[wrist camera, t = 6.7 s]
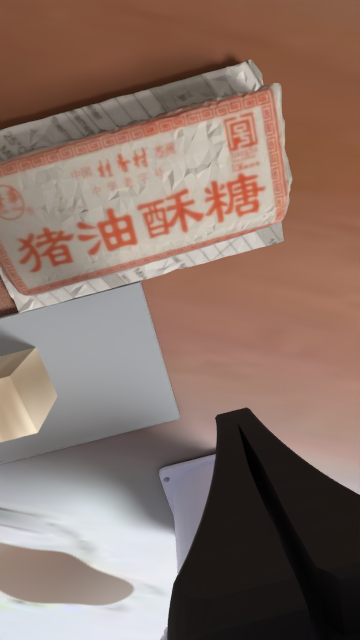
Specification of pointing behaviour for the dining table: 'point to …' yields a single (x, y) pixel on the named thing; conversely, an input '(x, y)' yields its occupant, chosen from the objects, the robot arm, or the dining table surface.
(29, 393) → the maple block
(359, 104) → the dining table surface
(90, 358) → the grey mat
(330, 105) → the dining table surface
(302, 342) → the dining table surface
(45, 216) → the packaged product
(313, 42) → the dining table surface
